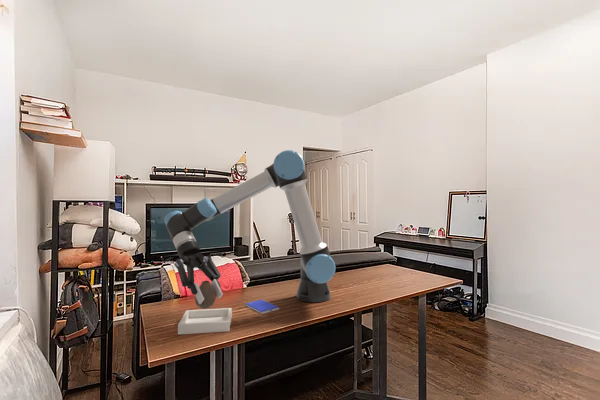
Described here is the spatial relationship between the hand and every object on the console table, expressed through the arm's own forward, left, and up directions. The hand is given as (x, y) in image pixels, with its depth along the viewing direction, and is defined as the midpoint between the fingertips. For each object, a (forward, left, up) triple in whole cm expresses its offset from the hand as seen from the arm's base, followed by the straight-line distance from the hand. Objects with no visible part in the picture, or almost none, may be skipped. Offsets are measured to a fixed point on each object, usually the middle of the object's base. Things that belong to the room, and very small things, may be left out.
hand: (211, 299), depth 104 cm
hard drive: (-18, -18, -10) cm, 27 cm away
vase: (+2, -3, -4) cm, 5 cm away
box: (+2, -3, -9) cm, 10 cm away
